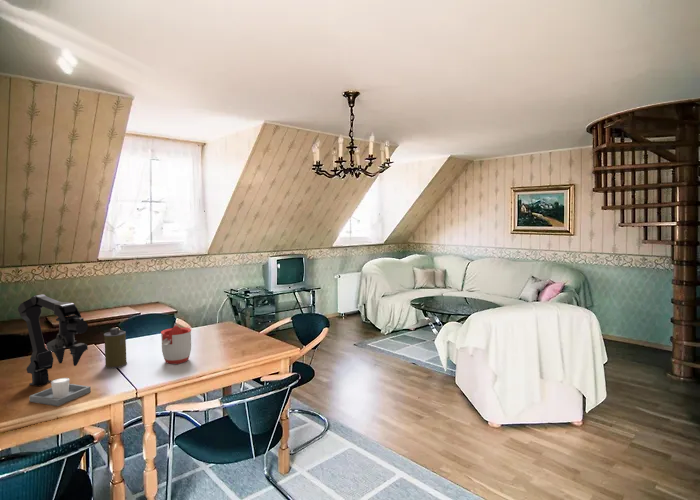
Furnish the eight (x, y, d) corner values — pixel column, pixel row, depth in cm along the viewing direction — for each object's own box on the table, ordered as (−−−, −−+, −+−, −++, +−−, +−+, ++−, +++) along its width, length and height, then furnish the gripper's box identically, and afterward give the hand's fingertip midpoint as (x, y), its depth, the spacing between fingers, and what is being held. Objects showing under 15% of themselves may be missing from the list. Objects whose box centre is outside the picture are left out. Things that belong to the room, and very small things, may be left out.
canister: (120, 368, 230) (119, 330, 228) (100, 368, 230) (99, 330, 229) (131, 361, 241) (129, 325, 239) (112, 361, 241) (111, 325, 239)
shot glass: (73, 392, 197) (72, 377, 196) (64, 398, 190) (63, 383, 189) (58, 393, 196) (57, 377, 196) (47, 399, 190) (47, 383, 189)
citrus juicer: (152, 365, 235) (151, 328, 233) (174, 355, 251) (173, 321, 250) (177, 368, 230) (176, 330, 229) (198, 358, 247) (197, 323, 245)
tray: (29, 401, 188) (29, 395, 188) (64, 387, 203) (63, 382, 203) (57, 406, 183) (57, 400, 183) (90, 391, 198) (90, 386, 198)
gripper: (34, 333, 195) (35, 367, 196) (64, 337, 189) (66, 373, 190) (58, 327, 205) (59, 359, 207) (88, 331, 199) (89, 365, 200)
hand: (67, 364), depth 201 cm, fingers open, 9 cm apart
